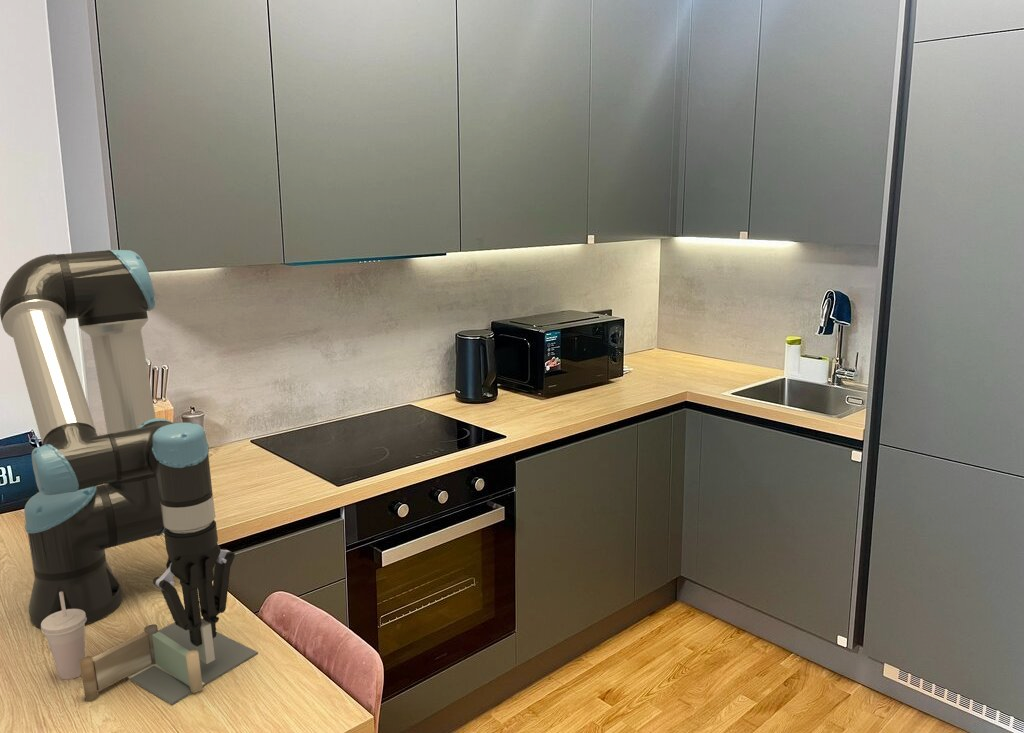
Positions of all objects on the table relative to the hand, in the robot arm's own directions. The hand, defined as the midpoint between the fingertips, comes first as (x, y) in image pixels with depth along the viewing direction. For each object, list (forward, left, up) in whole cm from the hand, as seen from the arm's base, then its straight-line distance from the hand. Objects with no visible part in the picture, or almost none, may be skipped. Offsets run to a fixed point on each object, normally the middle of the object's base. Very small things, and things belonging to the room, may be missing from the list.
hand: (206, 658), depth 132 cm
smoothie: (-18, -13, -2) cm, 22 cm away
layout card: (-7, -1, -2) cm, 7 cm away
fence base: (-9, -9, -2) cm, 13 cm away
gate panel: (-1, -4, -1) cm, 5 cm away
